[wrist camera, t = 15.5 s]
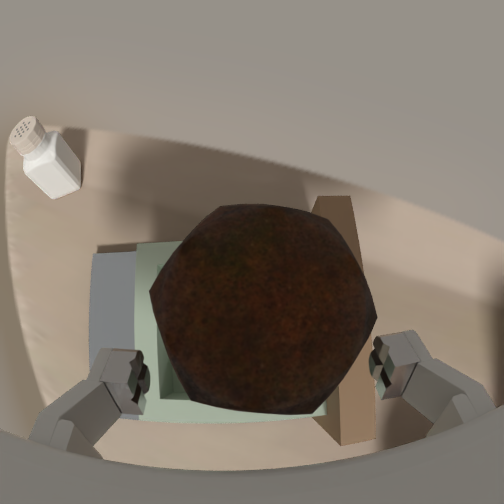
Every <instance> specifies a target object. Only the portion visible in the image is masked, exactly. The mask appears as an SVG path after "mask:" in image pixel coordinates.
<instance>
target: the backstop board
mask: <svg viewBox="0 0 504 504" xmlns="http://www.w3.org/2000/svg"><path fill="white" fill-rule="evenodd" d="M311 213H313V214H316V215H318V216H321V217H324V218H327V219H329V221H330V222H331V223H332V224H333V225H334V227H335V228H336V229H337V230H338V231H339V233H340V234H341V235H342V237H343V238H344V240H345V241H346V243H347V244H348V246H349V248H350V249H351V251H352V253H353V255H354V257H355V258H356V260H357V262H358V264H359V266H360V268H361V270H362V272H363V274H364V271H363V265H362V258H361V252H360V246H359V240H358V234H357V229H356V223H355V218H354V213H353V208H352V203H351V198H350V196H318V197H317V200H316V202H315V205H314V207H313V209H312V212H311ZM135 269H136V251H132V252H115V253H98V254H93V259H92V271H91V286H90V307H89V363H90V370H91V368H92V365H93V363H94V361H95V358H96V356H97V354H98V352H99V350H100V349H101V348H102V347H103V348H118V349H132V350H135V336H134V302H135ZM371 352H372V340H371V334H370V336H369V338H368V340H367V342H366V343H365V345H364V347H363V348H362V350H361V352H360V353H359V355H358V357H357V358H356V360H355V362H354V363H353V365H352V366H351V368H350V370H349V371H348V373H347V374H346V376H345V377H344V379H343V380H342V381H341V383H340V384H339V385H338V386H337V388H336V389H335V390H334V391H333V393H332V394H331V395H330V396H329V397H328V398H327V399H326V401H327V415H322V416H314V417H312V418H313V419H314V420H315V421H316V422H317V423H318V424H319V425H320V426H321V427H322V428H323V429H324V430H325V431H326V432H327V433H328V434H329V435H330V436H331V437H332V438H333V439H334V440H335V441H336V442H337V443H338V444H339V445H340V446H344V445H349V444H354V443H359V442H363V441H368V440H372V439H376V414H375V384H374V378H372V376H371V374H370V370H369V356H370V353H371ZM119 418H123V419H132V420H139V415H133V414H122V415H121V416H120V417H119Z"/></svg>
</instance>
